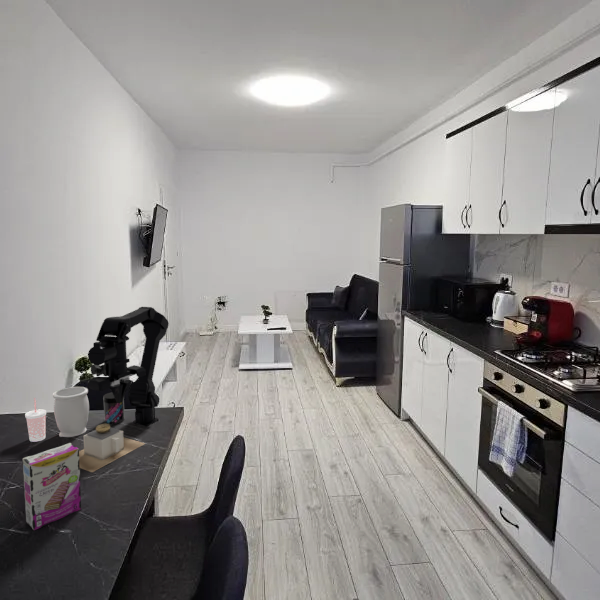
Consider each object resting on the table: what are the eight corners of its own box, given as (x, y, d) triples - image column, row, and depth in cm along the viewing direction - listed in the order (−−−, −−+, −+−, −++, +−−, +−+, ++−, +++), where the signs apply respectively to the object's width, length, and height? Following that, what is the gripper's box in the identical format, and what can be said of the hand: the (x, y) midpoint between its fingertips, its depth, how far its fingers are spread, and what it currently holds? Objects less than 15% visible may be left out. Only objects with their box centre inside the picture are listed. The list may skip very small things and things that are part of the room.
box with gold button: (105, 443, 145) (105, 424, 144) (128, 450, 140) (127, 430, 139) (84, 454, 138) (83, 433, 137) (107, 462, 133) (106, 441, 132)
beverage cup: (41, 443, 146) (38, 401, 144) (22, 442, 146) (19, 401, 144) (51, 434, 152) (49, 395, 150) (34, 434, 152) (31, 394, 150)
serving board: (114, 436, 151) (114, 434, 151) (145, 445, 145) (145, 443, 145) (59, 463, 134) (59, 460, 134) (92, 474, 128) (92, 472, 127)
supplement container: (100, 425, 160) (99, 397, 158) (112, 418, 167) (111, 391, 165) (117, 427, 158) (115, 399, 157) (128, 420, 165) (127, 392, 163)
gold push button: (105, 441, 143) (104, 421, 142) (117, 445, 140) (116, 424, 139) (90, 448, 138) (89, 427, 137) (102, 452, 136) (101, 431, 135)
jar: (64, 443, 146) (62, 399, 144) (50, 434, 152) (47, 392, 150) (96, 432, 154) (94, 390, 152) (81, 424, 160) (78, 384, 158)
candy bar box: (34, 532, 103) (29, 465, 101) (25, 523, 106) (20, 458, 104) (83, 509, 112) (79, 447, 109) (74, 501, 115) (70, 441, 112)
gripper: (122, 347, 156) (123, 390, 159) (74, 360, 140) (77, 407, 142) (145, 351, 152) (147, 395, 154) (99, 365, 135) (101, 414, 137)
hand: (119, 402), depth 147 cm, fingers closed
